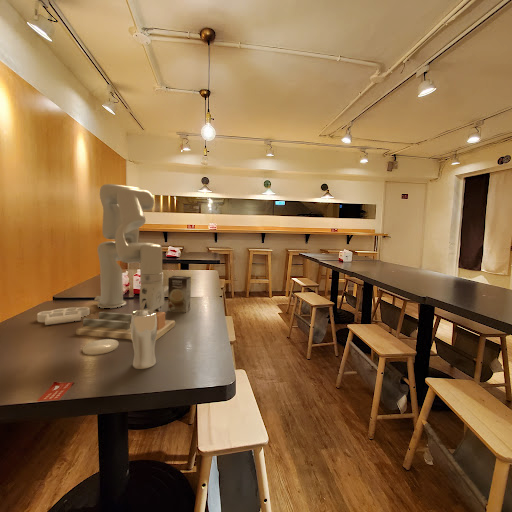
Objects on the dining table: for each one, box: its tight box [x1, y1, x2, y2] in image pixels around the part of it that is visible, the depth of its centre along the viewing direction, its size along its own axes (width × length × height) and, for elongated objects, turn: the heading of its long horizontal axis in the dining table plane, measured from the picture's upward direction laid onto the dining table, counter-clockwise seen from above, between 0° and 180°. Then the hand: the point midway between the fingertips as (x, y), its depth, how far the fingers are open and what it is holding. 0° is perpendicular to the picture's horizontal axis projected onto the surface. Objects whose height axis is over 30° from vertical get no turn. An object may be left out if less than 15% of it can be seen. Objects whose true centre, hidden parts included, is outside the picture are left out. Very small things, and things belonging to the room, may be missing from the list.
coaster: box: [82, 338, 120, 356], centre depth 87 cm, size 10×10×1 cm
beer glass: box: [130, 308, 157, 370], centre depth 76 cm, size 7×7×15 cm
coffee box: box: [167, 275, 192, 313], centre depth 128 cm, size 9×6×16 cm
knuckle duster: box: [36, 306, 91, 326], centre depth 113 cm, size 3×18×15 cm
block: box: [156, 311, 166, 330], centre depth 101 cm, size 6×5×5 cm
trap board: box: [75, 311, 176, 341], centre depth 102 cm, size 30×16×4 cm, turn 82°
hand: (151, 325), depth 101 cm, fingers closed on block, 5 cm apart
